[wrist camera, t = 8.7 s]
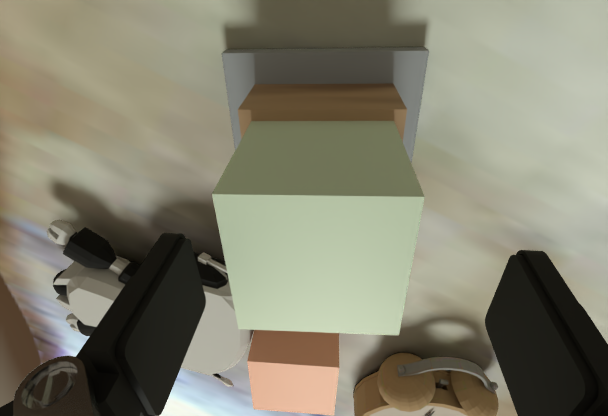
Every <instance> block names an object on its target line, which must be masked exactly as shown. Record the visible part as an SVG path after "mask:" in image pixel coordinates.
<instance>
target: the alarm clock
mask: <svg viewBox="0 0 608 416" xmlns="http://www.w3.org/2000/svg"><path fill="white" fill-rule="evenodd" d="M446 370H451V372H449V371H446ZM497 388H498V385H497V383H495V382H490V380H489V379H488V377H487V376H486V375H485V374H484V373H483V370H482V369H481V368H480V367H479V366H478V365H477V364H475V363H473V362H470V361H468V360H464V359H461V358H454V357H433V358H427V359H423V360H422V359H421V358H419V357H418V356H416V355H413V354H410V353H397V354H393V355H392V356H390V357H388V358H387V359H386V360H385V361H384V362H383V363H382V364H381V367H380V369H379V371H378V372H376V373H374V374H372V375H369V376H367V377H365V378H364V379H363V380H362V381H361V382H360V383H358V384H357V385H356V387H355V391H354V394H353V398H354V413H355V416H496V414H497V411H498V398H497V394H496V392H495V390H496V389H497Z"/></svg>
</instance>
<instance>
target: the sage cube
mask: <svg viewBox="0 0 608 416" xmlns="http://www.w3.org/2000/svg"><path fill="white" fill-rule="evenodd" d="M212 197H213V202H214V207H215V212H216V218H217V223H218V228H219V233H220V238H221V243H222V248H223V253H224V258H225V263H226V268H227V273H228V278H229V284H230V289H231V294H232V299H233V304H234V309H235V314H236V319H237V324H238V329H249V330H274V331H299V332H325V333H350V334H375V335H399V332H400V326H401V321H402V315H403V310H404V305H405V299H406V294H407V289H408V283H409V278H410V272H411V267H412V262H413V256H414V251H415V246H416V240H417V235H418V229H419V224H420V219H421V213H422V208H423V203H424V194H423V192H422V189H421V187H420V184H419V182H418V179H417V177H416V174H415V172H414V169H413V167H412V164H411V162H410V159H409V157H408V154H407V152H406V149H405V147H404V144H403V142H402V139H401V137H400V134H399V132H398V129H397V127H396V125H395V122H394V121H251V123H250V125H249V126H248V128H247V130H246V132H245V134H244V136H243V138H242V139H241V141H240V143H239V145H238V147H237V149H236V151H235V152H234V154H233V156H232V158H231V160H230V162H229V163H228V165H227V167H226V169H225V171H224V173H223V175H222V176H221V178H220V180H219V182H218V184H217V186H216V188H215V189H214V191H213V193H212Z"/></svg>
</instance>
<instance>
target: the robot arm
mask: <svg viewBox="0 0 608 416" xmlns="http://www.w3.org/2000/svg"><path fill="white" fill-rule="evenodd" d="M205 306H206V297H205V293H204V289H203V286H202V282H201V278H200V274H199V271H198V267H197V263H196V259H195V256H194V252H193V248H192V245H191V241H190V240H189V239H186V238H185V236H184V235H183V234H173V233H164V234H162V235H161V236H160V238H159V239H158V241H157V242H156V244H155V245H154V247H153V248H152V250H151V251H150V253H149V254H148V255H147V257H146V258H145V260H144V261H143V263H142V264H141V266H140V267H139V269H138V270H137V272H136V273H135V275H134V276H132V277H131V278H130V279H129V280H128V281H127V283H126V284H125V286H124V287H123V289H122V290H121V292H120V293H119V295H118V296H117V298H116V299H115V300H114V302H113V303H112V305H111V306H110V308H109V309H108V311H107V312H106V314H105V315H104V317H103V318H102V319H101V321H100V322H99V324H98V325H97V327H96V328H95V330H94V331H93V333H92V334H91V336H90V337H89V339H88V340H87V341H86V343H85V344H84V346H83V347H82V349H81V350H80V352H79V353H78V355H77V356H76V357H73V356H61V357H57V358H54V359H51V360H48V361H46V362H45V363H43V364H41V365H39V366H38V367H36V368H35V369H34V370H33V371H31V372H30V373H29V374H28V375H27V376H26V377H25V379H24V380H23V381H22V382H21V383H20V385H19V387H18V389H17V390H16V392H15V396H14V400H13V401H11V402H10V403H8V404H6V405H4V406H2V407H0V416H159V415H160V414H161V413H162V411H163V409H164V407H165V404H166V402H167V399H168V397H169V395H170V392H171V390H172V387H173V385H174V382H175V380H176V378H177V375H178V373H179V370H180V368H181V365H182V363H183V361H184V358H185V356H186V353H187V351H188V348H189V346H190V343H191V341H192V339H193V336H194V334H195V331H196V329H197V326H198V324H199V322H200V319H201V317H202V314H203V312H204V309H205ZM485 325H486V329H487V332H488V335H489V338H490V340H491V343H492V346H493V349H494V351H495V354H496V357H497V360H498V362H499V365H500V368H501V371H502V373H503V376H504V379H505V381H506V384H507V387H508V390H509V392H510V395H511V398H512V401H513V403H514V406H515V409H516V412H517V414H518V416H608V344H607V343H606V341H605V340H604V338H603V337H602V335H601V333H600V332H599V330H598V329H597V327H596V326H595V324H594V323H593V321H592V320H591V318H590V317H589V315H588V314H587V312H586V311H585V309H584V308H583V307H582V306H581V305H580V304H579V303H578V301H577V300H576V298H575V297H574V295H573V294H572V292H571V290H570V289H569V287H568V286H567V284H566V283H565V281H564V280H563V278H562V277H561V275H560V274H559V272H558V271H557V269H556V268H555V266H554V265H553V263H552V262H551V260H550V259H549V257H548V256H547V254H546V253H545V252H543V251H528V250H519V251H518V252H517V254H516V255H512V256H510V258H509V260H508V263H507V265H506V268H505V270H504V273H503V275H502V278H501V280H500V283H499V285H498V287H497V290H496V292H495V295H494V297H493V300H492V302H491V305H490V307H489V309H488V312H487V314H486V318H485Z"/></svg>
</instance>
